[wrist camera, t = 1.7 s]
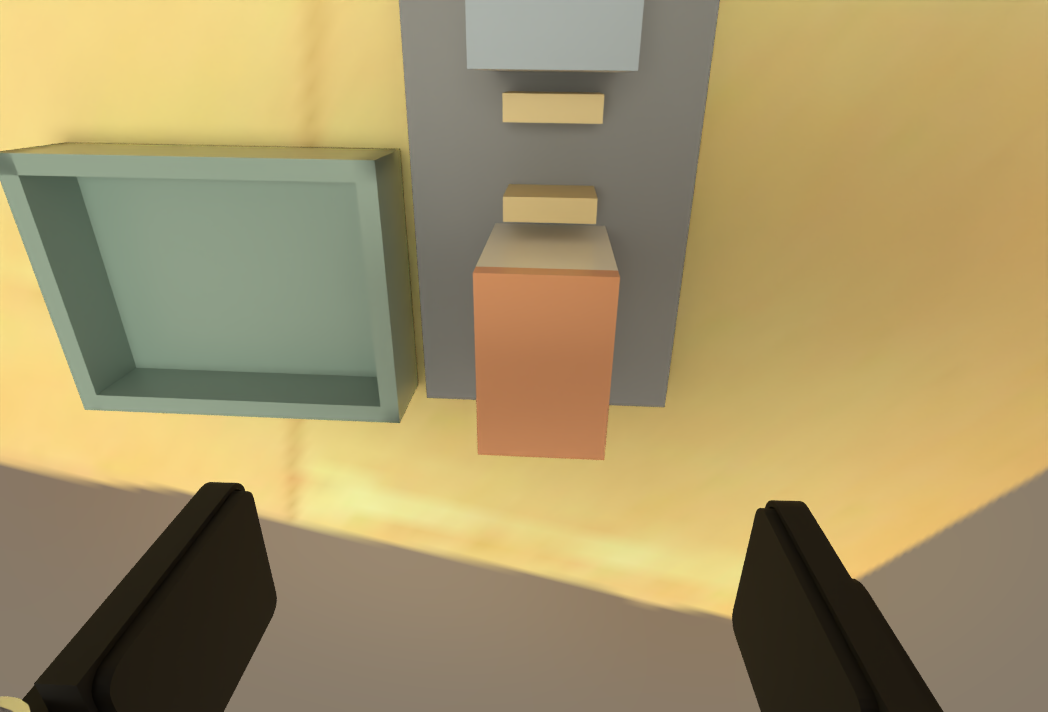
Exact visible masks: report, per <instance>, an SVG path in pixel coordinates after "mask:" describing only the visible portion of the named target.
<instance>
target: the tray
mask: <svg viewBox="0 0 1048 712" xmlns="http://www.w3.org/2000/svg"><path fill="white" fill-rule="evenodd" d="M0 181H1V184H2V187H3V189H4V192H5V195H6V198H7V200H8V203H9V206H10V208H11V211H12V214H13V217H14V219H15V222H16V225H17V227H18V230H19V233H20V235H21V238H22V241H23V244H24V246H25V249H26V252H27V254H28V257H29V260H30V262H31V265H32V268H33V271H34V273H35V276H36V279H37V281H38V284H39V287H40V290H41V292H42V295H43V298H44V300H45V303H46V306H47V308H48V311H49V314H50V317H51V319H52V322H53V325H54V327H55V330H56V333H57V335H58V338H59V341H60V344H61V346H62V349H63V352H64V354H65V357H66V360H67V362H68V365H69V368H70V371H71V373H72V376H73V379H74V381H75V384H76V387H77V390H78V392H79V395H80V398H81V400H82V403H83V406H84V408H85V410H104V411H128V412H152V413H176V414H199V415H223V416H247V417H271V418H294V419H318V420H342V421H366V422H389V423H400V422H401V419H402V417H403V415H404V413H405V411H406V409H407V407H408V405H409V402H410V400H411V398H412V396H413V394H414V392H415V390H416V387H417V385H418V375H417V362H416V349H415V336H414V324H413V311H412V298H411V285H410V272H409V259H408V246H407V233H406V220H405V207H404V194H403V182H402V169H401V156H400V149H374V148H321V147H268V146H215V145H162V144H109V143H59V144H51V145H44V146H36V147H29V148H21V149H14V150H6V151H0Z"/></svg>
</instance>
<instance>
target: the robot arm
mask: <svg viewBox="0 0 1048 712" xmlns="http://www.w3.org/2000/svg"><path fill="white" fill-rule="evenodd" d="M276 599H277V597H276V591H275V586H274V582H273V578H272V574H271V569H270V565H269V562H268V557H267V552H266V548H265V544H264V540H263V536H262V531H261V527H260V523H259V519H258V514H257V510H256V506H255V502H254V498H253V495H252V493H251V492H248V491H245V489H244V487H243V486H242V485H241V484H239V483H220V482H209V483H206V484H204V485H203V486H202V487H201V488H200V489H199V491H198V492H197V493H196V494H195V495H194V496H193V498H192V499H191V500H190V501H189V502H188V504H187V505H186V506H185V507H184V508H183V509H182V511H181V512H180V513H179V514H178V515H177V516H176V518H175V519H174V520H173V521H172V522H171V524H170V525H169V526H168V527H167V528H166V529H165V531H164V532H163V533H162V534H161V535H160V536H159V538H158V539H157V540H156V541H155V542H154V544H153V545H152V546H151V547H150V548H149V549H148V550H147V552H146V553H145V554H144V555H143V556H142V558H141V559H140V560H139V561H138V562H137V563H136V565H135V566H134V567H133V568H132V569H131V570H130V572H129V573H128V574H127V575H126V576H125V578H124V579H123V580H122V581H121V582H120V583H119V585H118V586H117V587H116V588H115V589H114V590H113V592H112V593H111V594H110V595H109V596H108V597H107V599H106V600H105V601H104V602H103V603H102V604H101V606H100V607H99V608H98V609H97V610H96V612H95V613H94V614H93V615H92V616H91V618H90V619H89V620H88V621H87V622H86V623H85V624H84V626H83V627H82V628H81V629H80V630H79V632H78V633H77V634H76V635H75V636H74V637H73V639H72V640H71V641H70V642H69V643H68V644H67V646H66V647H65V648H64V649H63V650H62V651H61V653H60V654H59V655H58V656H57V657H56V658H55V660H54V661H53V662H52V663H51V664H50V666H49V667H48V668H47V669H46V670H45V671H44V673H43V674H42V675H41V676H40V677H39V678H38V680H37V681H36V682H35V683H34V684H35V685H34V686H33V688H32V689H31V690H30V691H29V692H28V693H27V695H26V696H25V697H24V698H23V699H22V700H21V699H19V698H14V697H7V696H3V697H0V712H224V710H225V708H226V706H227V704H228V702H229V700H230V698H231V696H232V694H233V692H234V691H235V689H236V687H237V685H238V683H239V681H240V679H241V677H242V675H243V673H244V671H245V669H246V667H247V665H248V663H249V661H250V659H251V657H252V655H253V653H254V652H255V650H256V648H257V646H258V644H259V642H260V640H261V638H262V636H263V634H264V632H265V630H266V628H267V626H268V624H269V622H270V620H271V618H272V616H273V614H274V611H275V608H276V601H277V600H276ZM732 621H733V629H734V633H735V636H736V639H737V642H738V645H739V648H740V651H741V654H742V657H743V660H744V662H745V666H746V669H747V672H748V674H749V678H750V680H751V684H752V686H753V689H754V692H755V695H756V698H757V701H758V704H759V707H760V710H761V712H943V710H942V709H941V707H940V706H939V704H938V703H937V701H936V699H935V698H934V696H933V694H932V693H931V692H930V690H929V688H928V687H927V685H926V683H925V682H924V680H923V679H922V677H921V675H920V674H919V672H918V671H917V669H916V668H915V666H914V664H913V663H912V661H911V660H910V658H909V656H908V655H907V653H906V651H905V650H904V649H903V647H902V645H901V644H900V642H899V640H898V639H897V637H896V636H895V634H894V632H893V631H892V629H891V628H890V626H889V625H888V623H887V621H886V620H885V618H884V616H883V615H882V613H881V612H880V610H879V609H878V607H877V605H876V604H875V602H874V601H873V599H872V597H871V596H870V594H869V593H868V591H867V590H866V589H865V587H864V586H863V585H862V584H861V583H860V582H859V581H857V580H856V579H852V578H851V577H850V575H849V573H848V572H847V570H846V569H845V567H844V565H843V564H842V562H841V560H840V559H839V557H838V556H837V554H836V552H835V551H834V549H833V547H832V546H831V544H830V542H829V541H828V539H827V538H826V536H825V534H824V533H823V531H822V529H821V528H820V526H819V525H818V523H817V521H816V520H815V518H814V516H813V515H812V513H811V511H810V510H809V508H808V507H807V505H806V504H805V503H804V502H801V501H775V500H771V501H769V502H768V503H767V504H766V507H765V508H759V509H758V510H757V511H756V514H755V518H754V522H753V527H752V531H751V535H750V540H749V544H748V548H747V553H746V557H745V561H744V565H743V570H742V574H741V578H740V583H739V587H738V591H737V596H736V600H735V604H734V608H733V614H732Z"/></svg>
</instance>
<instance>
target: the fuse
mask: <svg viewBox="0 0 1048 712" xmlns="http://www.w3.org/2000/svg"><path fill="white" fill-rule="evenodd" d="M619 284H620V275H619V272H618V268H617V265H616V261H615V258H614V254H613V251H612V247H611V244H610V241H609V237H608V234H607V230H606V227H605V226H594V225H554V224H514V223H495V225H494V227H493V230H492V232H491V234H490V236H489V238H488V241H487V243H486V245H485V247H484V249H483V252H482V254H481V256H480V258H479V260H478V263H477V265H476V267H475V269H474V271H473V298H474V333H475V369H476V404H477V440H478V454H480V455H503V456H525V457H548V458H570V459H593V460H604V456H605V445H606V433H607V422H608V410H609V399H610V387H611V376H612V364H613V353H614V341H615V330H616V318H617V307H618V295H619Z"/></svg>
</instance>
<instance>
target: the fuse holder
mask: <svg viewBox="0 0 1048 712" xmlns="http://www.w3.org/2000/svg"><path fill="white" fill-rule="evenodd" d="M719 2H720V0H399V8H400V22H401V37H402V51H403V65H404V79H405V93H406V107H407V121H408V136H409V150H410V164H411V178H412V192H413V206H414V220H415V235H416V249H417V263H418V277H419V291H420V305H421V319H422V334H423V348H424V362H425V376H426V390H427V398H447V399H472V400H476V369H475V333H474V298H473V271H474V269H475V267H476V265H477V263H478V260H479V258H480V256H481V254H482V252H483V249H484V247H485V245H486V243H487V241H488V238H489V236H490V234H491V232H492V230H493V227H494V225H495V223H514V224H554V225H594V226H605V227H606V230H607V234H608V237H609V241H610V244H611V247H612V251H613V254H614V258H615V261H616V265H617V268H618V272H619V275H620V284H619V295H618V307H617V318H616V330H615V341H614V353H613V364H612V376H611V387H610V399H609V405H622V406H647V407H665V400H666V393H667V385H668V378H669V371H670V363H671V356H672V349H673V341H674V334H675V326H676V319H677V312H678V304H679V297H680V290H681V282H682V275H683V267H684V260H685V253H686V245H687V238H688V231H689V223H690V216H691V208H692V201H693V194H694V186H695V179H696V171H697V164H698V157H699V149H700V142H701V135H702V127H703V120H704V112H705V105H706V98H707V90H708V83H709V76H710V68H711V61H712V53H713V46H714V39H715V31H716V24H717V17H718V9H719Z"/></svg>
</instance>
